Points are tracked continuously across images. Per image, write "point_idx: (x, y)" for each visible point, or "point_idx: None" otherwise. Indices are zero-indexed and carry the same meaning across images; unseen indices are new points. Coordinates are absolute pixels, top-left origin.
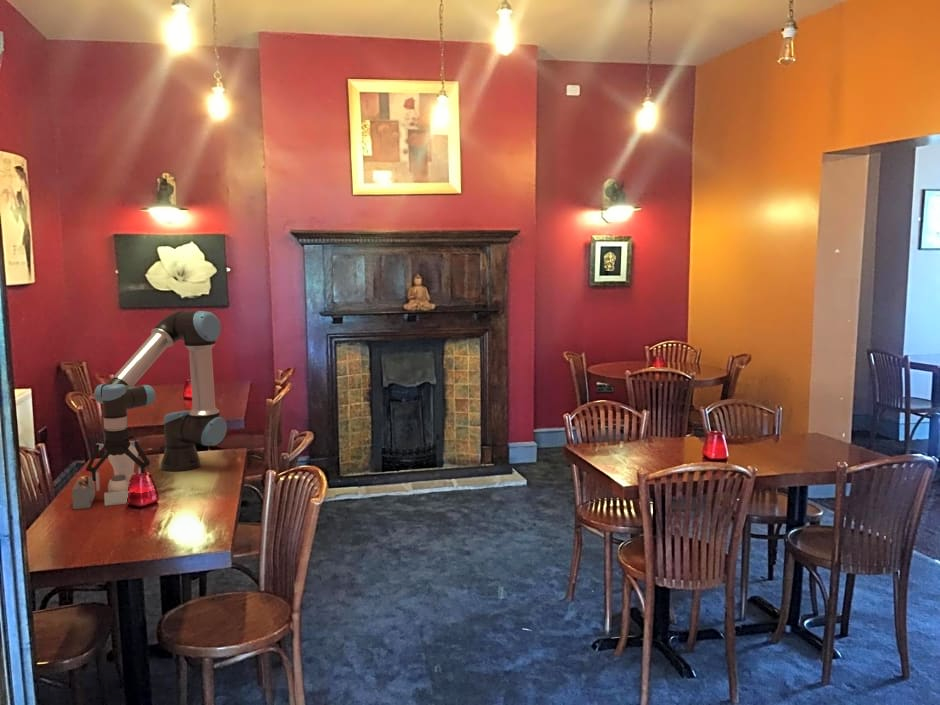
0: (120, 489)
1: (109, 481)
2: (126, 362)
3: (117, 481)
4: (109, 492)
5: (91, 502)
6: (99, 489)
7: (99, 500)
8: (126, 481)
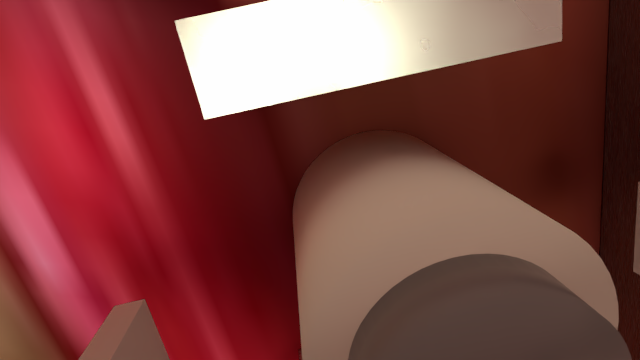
0: (367, 177)
1: (604, 269)
2: None
3: (458, 235)
4: (496, 43)
5: (616, 85)
6: (636, 231)
7: (546, 184)
8: (307, 309)
